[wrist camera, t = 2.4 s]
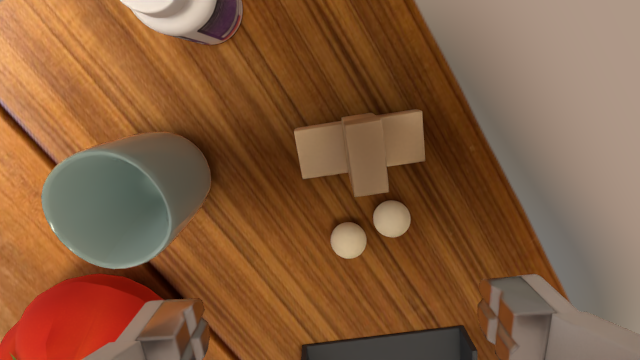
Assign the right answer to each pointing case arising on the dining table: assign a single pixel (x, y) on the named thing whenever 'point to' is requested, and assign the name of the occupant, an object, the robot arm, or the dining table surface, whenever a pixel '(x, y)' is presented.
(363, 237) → the crumb
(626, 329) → the robot arm
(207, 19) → the pill bottle
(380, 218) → the crumb
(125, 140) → the cup
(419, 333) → the dustpan
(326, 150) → the brush
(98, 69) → the dining table surface
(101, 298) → the tomato
